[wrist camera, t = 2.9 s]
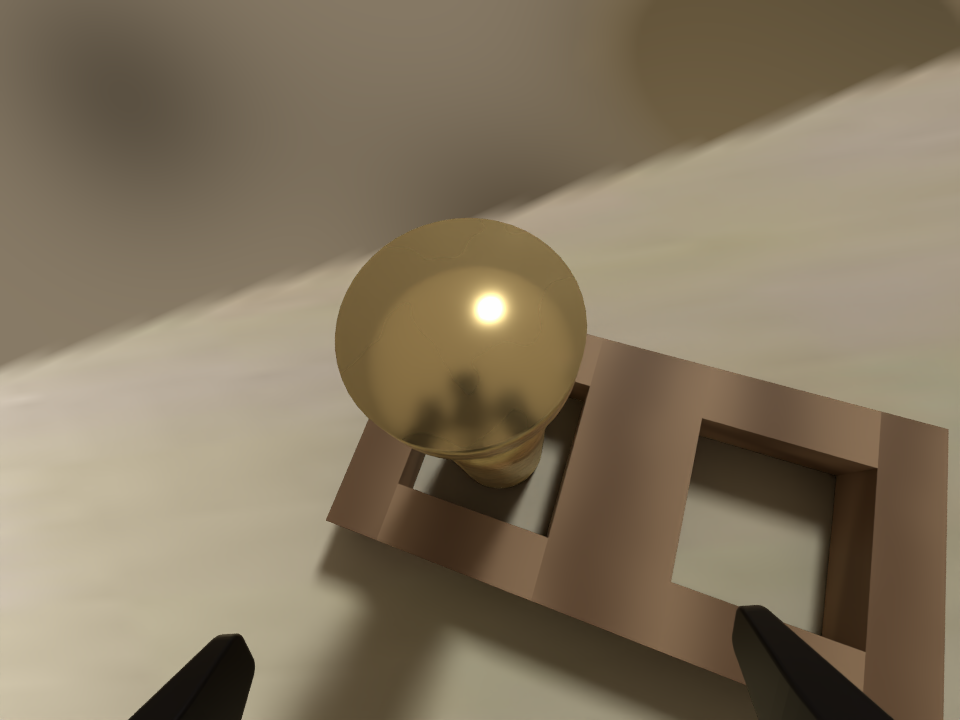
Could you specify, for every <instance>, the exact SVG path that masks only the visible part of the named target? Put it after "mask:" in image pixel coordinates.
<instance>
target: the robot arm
mask: <svg viewBox="0 0 960 720" xmlns="http://www.w3.org/2000/svg"><path fill="white" fill-rule="evenodd" d="M732 644H733V649H734V652H735V655H736V658H737V660H738V663H739V666H740V669H741V672H742V674H743V677H744V680H745V683H746V686H747V688H748V691H749V694H750V697H751V700H752V702H753V705H754V708H755V711H756V714H757V716H758V719H759V720H894V719H893V718H892V717H891V716H890V715H889V714H888V713H886V712H885V711H884V710H883V709H882V708H881V707H880V706H878V705H877V704H876V703H875V702H874V701H873V700H872V699H870V698H869V697H868V696H867V695H866V694H865V693H863V692H862V691H861V690H860V689H859V688H858V687H857V686H855V685H854V684H853V683H852V682H851V681H850V680H849V679H847V678H846V677H845V676H844V675H843V674H842V673H841V672H839V671H838V670H837V669H836V668H835V667H834V666H832V665H831V664H830V663H829V662H828V661H827V660H826V659H824V658H823V657H822V656H821V655H820V654H819V653H818V652H816V651H815V650H814V649H813V648H812V647H811V646H810V645H808V644H807V643H806V642H805V641H804V640H803V639H801V638H800V637H799V636H798V635H797V634H796V633H795V632H793V631H792V630H791V629H790V628H789V627H788V626H787V625H785V624H784V623H783V622H782V621H781V620H780V619H779V618H777V617H776V616H775V615H774V614H773V613H772V612H770V611H769V610H768V609H767V608H765V607H763V606H761V605H750V606H739V607H738V608H737V610H736V613H735V620H734V626H733V632H732ZM254 671H255V662H254V658H253V656H252V654H251V652H250V650H249V648H248V646H247V644H246V642H245V640H244V638H243V637H242V636H241V635H240V634H222V635H219V636H217V637H215V638H214V639H212V640H211V641H210V642H209V643H208V644H207V645H206V646H205V647H204V648H203V649H202V650H201V651H200V652H199V653H198V654H197V655H195V656H194V657H193V658H192V659H191V660H190V661H189V662H188V663H187V664H186V665H185V666H184V667H183V668H182V669H181V670H180V671H179V672H178V673H177V674H176V675H175V676H173V677H172V678H171V679H170V680H169V681H168V682H167V683H166V684H165V685H164V686H163V687H162V688H161V689H160V690H159V691H158V692H157V693H156V694H155V695H154V696H152V697H151V698H150V699H149V700H148V701H147V702H146V703H145V704H144V705H143V706H142V707H141V708H140V709H139V710H138V711H137V712H136V713H135V714H134V715H133V716H132V717H130V718H129V719H128V720H241V719H242V715H243V712H244V708H245V705H246V701H247V698H248V694H249V691H250V687H251V684H252V680H253V676H254Z"/></svg>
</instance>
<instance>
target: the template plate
mask: <svg viewBox="0 0 960 720" xmlns="http://www.w3.org/2000/svg"><path fill="white" fill-rule="evenodd" d="M569 397H570V398H574V399H577V400H580V401H584V402H583V406H582V409H581V413H580V417H579V420H578V424H577V428H576V431H575V435H574V438H573V442H572V446H571V449H570V453H569V456H568V460H567V464H566V467H565V471H564V474H563V478H562V482H561V485H560V489H559V493H558V496H557V500H556V503H555V507H554V511H553V514H552V518H551V521H550V525H549V529H548V532H547V536H546V537H545V536H542V535H539V534H536V533H534V532H531V531H528V530H525V529H522V528H520V527H517V526H514V525H511V524H509V523H506V522H503V521H500V520H497V519H495V518H492V517H489V516H486V515H484V514H481V513H478V512H475V511H473V510H470V509H467V508H464V507H461V506H459V505H456V504H453V503H450V502H448V501H445V500H442V499H439V498H436V497H434V496H431V495H428V494H425V493H423V492H420V491H417V490H414V489H413V486H414V483H415V481H416V478H417V475H418V473H419V470H420V467H421V465H422V462H423V459H424V457H425V454H424V453H421V452H419V451H417V450H414V449H412V448H410V447H408V446H407V445H405V444H403V443H402V442H400V441H398V440H397V439H395V438H394V437H393V436H391V435H390V434H388V433H387V432H385V431H384V430H383V429H381V428H380V427H379V426H377V425H376V424H375V423H374V422H373V421H371V420H370V419H369V420H368V422H367V424H366V427H365V429H364V432H363V434H362V436H361V439H360V441H359V443H358V446H357V448H356V450H355V453H354V455H353V457H352V460H351V462H350V465H349V467H348V469H347V472H346V474H345V476H344V479H343V481H342V483H341V486H340V488H339V491H338V493H337V495H336V498H335V500H334V502H333V505H332V507H331V509H330V512H329V514H328V516H327V519H326V521H329V522H331V523H334V524H336V525H339V526H342V527H344V528H347V529H349V530H352V531H354V532H357V533H359V534H362V535H365V536H367V537H370V538H372V539H375V540H377V541H380V542H382V543H385V544H387V545H390V546H393V547H395V548H398V549H400V550H403V551H405V552H408V553H410V554H413V555H415V556H418V557H421V558H423V559H426V560H428V561H431V562H433V563H436V564H438V565H441V566H444V567H446V568H449V569H451V570H454V571H456V572H459V573H461V574H464V575H466V576H469V577H472V578H474V579H477V580H479V581H482V582H484V583H487V584H489V585H492V586H494V587H497V588H500V589H502V590H505V591H507V592H510V593H512V594H515V595H517V596H520V597H523V598H525V599H528V600H530V601H533V602H535V603H538V604H540V605H543V606H545V607H548V608H551V609H553V610H556V611H558V612H561V613H563V614H566V615H568V616H571V617H573V618H576V619H579V620H581V621H584V622H586V623H589V624H591V625H594V626H596V627H599V628H602V629H604V630H607V631H609V632H612V633H614V634H617V635H619V636H622V637H624V638H627V639H630V640H632V641H635V642H637V643H640V644H642V645H645V646H647V647H650V648H652V649H655V650H658V651H660V652H663V653H665V654H668V655H670V656H673V657H675V658H678V659H681V660H683V661H686V662H688V663H691V664H693V665H696V666H698V667H701V668H703V669H706V670H709V671H711V672H714V673H716V674H719V675H721V676H724V677H726V678H729V679H731V680H734V681H737V682H739V683H742V684H744V685H746V683H745V680H744V677H743V674H742V672H741V669H740V666H739V663H738V660H737V658H736V655H735V652H734V649H733V644H732V632H733V626H734V620H735V613H736V610H737V608H738V607H739V606H736V605H733V604H730V603H728V602H725V601H722V600H719V599H717V598H714V597H711V596H708V595H705V594H703V593H700V592H697V591H694V590H692V589H689V588H686V587H683V586H680V585H678V584H675V583H672V582H671V578H672V573H673V568H674V562H675V557H676V552H677V547H678V541H679V536H680V531H681V526H682V521H683V515H684V510H685V505H686V500H687V494H688V489H689V484H690V479H691V473H692V468H693V463H694V458H695V452H696V447H697V442H698V437H699V436H703V437H706V438H710V439H713V440H717V441H720V442H723V443H727V444H730V445H734V446H737V447H740V448H744V449H747V450H751V451H754V452H757V453H761V454H764V455H768V456H771V457H774V458H778V459H781V460H785V461H788V462H791V463H795V464H798V465H802V466H805V467H808V468H812V469H815V470H819V471H822V472H825V473H829V474H832V475H836V487H835V498H834V509H833V519H832V530H831V541H830V552H829V562H828V573H827V584H826V595H825V606H824V616H823V627H822V636H819V635H816V634H814V633H811V632H808V631H805V630H802V629H800V628H797V627H794V626H791V625H789V624H786V623H784V624H785V625H787V626H788V627H789V628H790V629H791V630H792V631H793V632H795V633H796V634H797V635H798V636H799V637H800V638H801V639H803V640H804V641H805V642H806V643H807V644H808V645H810V646H811V647H812V648H813V649H814V650H815V651H816V652H818V653H819V654H820V655H821V656H822V657H823V658H824V659H826V660H827V661H828V662H829V663H830V664H831V665H832V666H834V667H835V668H836V669H837V670H838V671H839V672H841V673H842V674H843V675H844V676H845V677H846V678H847V679H849V680H850V681H851V682H852V683H853V684H854V685H855V686H857V687H858V688H859V689H860V690H861V691H862V692H863V693H865V694H866V695H867V696H868V697H869V698H870V699H872V700H873V701H874V702H875V703H876V704H877V705H878V706H880V707H881V708H882V709H883V710H884V711H885V712H886V713H888V714H889V715H890V716H891V717H892V718H893V719H894V720H943V705H944V650H945V594H946V538H947V483H948V429H945V428H941V427H938V426H934V425H930V424H926V423H922V422H919V421H915V420H911V419H907V418H903V417H900V416H896V415H892V414H888V413H884V412H881V411H877V410H873V409H869V408H865V407H862V406H858V405H854V404H850V403H846V402H843V401H839V400H835V399H831V398H827V397H824V396H820V395H816V394H812V393H809V392H805V391H801V390H797V389H793V388H790V387H786V386H782V385H778V384H774V383H771V382H767V381H763V380H759V379H755V378H752V377H748V376H744V375H740V374H736V373H733V372H729V371H725V370H721V369H717V368H714V367H710V366H706V365H702V364H698V363H695V362H691V361H687V360H683V359H679V358H676V357H672V356H668V355H664V354H660V353H657V352H653V351H649V350H645V349H641V348H638V347H634V346H630V345H626V344H622V343H619V342H615V341H611V340H607V339H603V338H600V337H596V336H592V335H588V334H586V344H585V349H584V354H583V358H582V361H581V365H580V368H579V371H578V374H577V378H576V380H575V383H574V386H573V389H572V391H571V393H570V395H569Z"/></svg>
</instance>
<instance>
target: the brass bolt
mask: <svg viewBox="0 0 960 720" xmlns="http://www.w3.org/2000/svg"><path fill="white" fill-rule="evenodd" d="M586 334H587V320H586V310H585V305H584V301H583V297H582V294H581V291H580V289H579V286H578V284H577V281H576V280H575V278H574V276H573V274H572V273H571V271H570V269H569V268H568V266H567V265H566V264H565V263H564V261H563V260H562V259H561V257H560V256H559V255H558V254H557V253H556V252H555V251H553V250H552V249H551V248H550V247H549V246H548V245H547V244H545V243H544V242H543V241H541V240H540V239H539V238H537V237H535V236H534V235H532V234H530V233H528V232H527V231H525V230H522V229H520V228H517V227H515V226H513V225H509V224H506V223H502V222H499V221H494V220H488V219H478V218H459V219H449V220H443V221H438V222H434V223H431V224H427V225H424V226H422V227H419V228H416V229H414V230H411V231H409V232H407V233H406V234H403V235H401V236H400V237H398V238H396V239H394V240H393V241H392V242H390V243H389V244H387V245H386V246H384V247H383V248H382V249H381V250H380V251H378V252H377V253H376V254H375V255H374V256H373V257H372V258H371V259H370V260H369V261H368V262H367V263H366V264H365V265H364V266H363V267H362V269H361V270H360V271H359V273H358V274H357V275H356V277H355V278H354V280H353V281H352V283H351V285H350V287H349V289H348V290H347V292H346V294H345V297H344V299H343V302H342V304H341V307H340V311H339V314H338V318H337V324H336V332H335V352H336V358H337V365H338V368H339V371H340V374H341V378H342V380H343V382H344V385H345V387H346V389H347V391H348V393H349V395H350V396H351V397H352V399H353V400H354V402H355V403H356V405H357V406H358V407H359V408H360V410H361V411H362V412H363V413H364V414H365V415H366V416H367V417H368V418H369V419H370V420H371V421H373V422H374V423H375V424H376V425H377V426H379V427H380V428H381V429H383V430H384V431H385V432H387V433H388V434H390V435H391V436H393V437H394V438H395V439H397V440H398V441H400V442H402V443H403V444H405V445H407V446H408V447H410V448H412V449H414V450H417V451H419V452H421V453H424V454H427V455H431V456H434V457H438V458H444V459H452V460H453V461H454V462H455V463H456V464H457V465H459V466H460V467H461V468H462V469H463V470H464V471H465V472H466V473H467V474H468V475H469V476H470V477H471V478H473V479H474V480H475V481H476V482H478V483H480V484H482V485H484V486H487V487H491V488H509V487H512V486H515V485H517V484H520V483H521V482H523V481H524V480H526V479H527V478H528V477H529V476H530V475H531V474H532V473H533V472H534V470H535V469H536V467H537V465H538V463H539V461H540V458H541V453H542V447H543V441H544V434H545V428H546V426H547V425H548V424H549V423H550V422H551V421H552V420H553V419H554V418H555V417H556V416H557V414H558V413H559V411H560V410H561V409H562V407H563V406H564V404H565V403H566V401H567V399H568V397H569V395H570V393H571V391H572V389H573V386H574V383H575V380H576V378H577V374H578V371H579V368H580V365H581V361H582V358H583V354H584V349H585V344H586Z"/></svg>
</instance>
